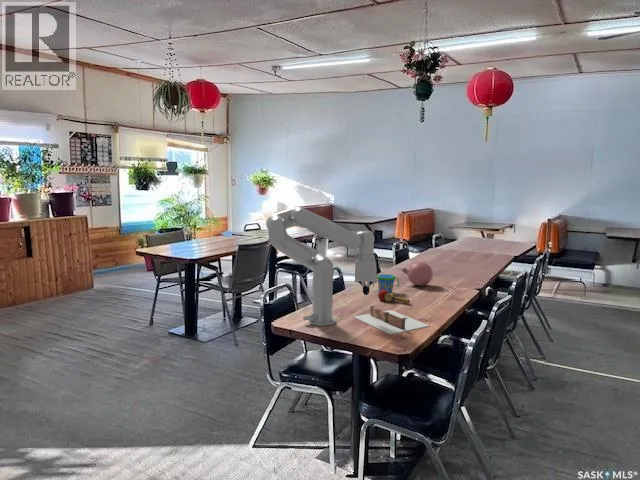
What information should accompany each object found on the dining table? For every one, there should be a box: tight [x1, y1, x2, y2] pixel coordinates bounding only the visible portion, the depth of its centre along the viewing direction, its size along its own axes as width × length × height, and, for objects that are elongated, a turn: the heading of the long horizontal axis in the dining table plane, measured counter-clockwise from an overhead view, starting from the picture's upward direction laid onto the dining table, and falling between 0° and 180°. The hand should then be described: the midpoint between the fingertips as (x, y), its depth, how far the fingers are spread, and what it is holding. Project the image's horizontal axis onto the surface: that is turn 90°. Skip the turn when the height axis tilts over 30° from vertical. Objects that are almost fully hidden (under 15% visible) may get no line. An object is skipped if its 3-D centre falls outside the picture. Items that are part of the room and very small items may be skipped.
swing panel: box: [369, 305, 386, 321], centre depth 230 cm, size 11×2×4 cm, turn 30°
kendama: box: [377, 290, 411, 305], centre depth 260 cm, size 8×6×18 cm
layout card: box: [353, 309, 430, 335], centre depth 226 cm, size 23×29×1 cm
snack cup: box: [372, 273, 400, 293], centre depth 280 cm, size 16×10×10 cm
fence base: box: [385, 312, 405, 329], centre depth 219 cm, size 2×13×5 cm, turn 30°
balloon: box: [400, 261, 433, 287], centre depth 298 cm, size 15×20×15 cm
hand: (366, 294), depth 228 cm, fingers closed
